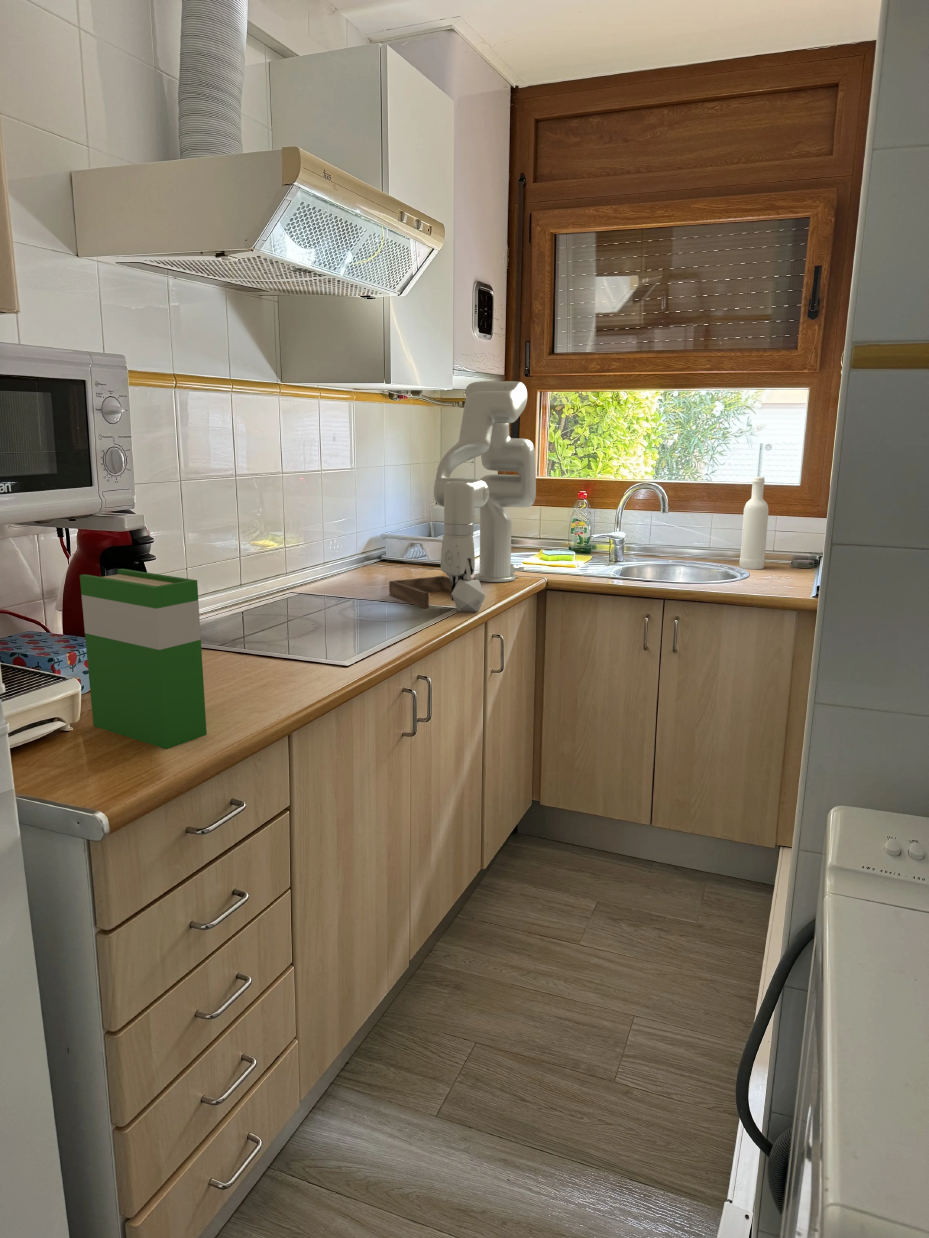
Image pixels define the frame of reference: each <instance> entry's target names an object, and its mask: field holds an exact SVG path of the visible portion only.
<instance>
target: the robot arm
mask: <svg viewBox="0 0 929 1238" xmlns="http://www.w3.org/2000/svg"><path fill="white" fill-rule="evenodd" d="M527 401H528V390H527V387H526V385H525V384H524V383H523V382H521V381H514V380H511V381H505V380H503V381H500V380H499V381H498V380H490V381H489V380H487V381H486V380H485V381H483V380H482V381H474V382H471V383H469V384H468V385H467V386H466V388H465V401H464V406H463V411H462V412H463V413H462V419H461V424H460V430H459V437H458V441H457V442H456V444H454V445H453V446H452V447H451V448H450V449H449V450H448V451H447V452H446V453H445V454H444V455H443V457H442V458H441V460H440V462H439V464H438V465H437V468H436V474H435V478H434V479H435V480H434V486H433V497H434V500H435V503H436V504H437V505H438V506H440V507H443V537H442V542H441V553H440V570H441V572H443V573H444V574H445V575H446V577H449V578H450V583H451V585H453V586H452V592H453V590H454V588H455V586H456V584H457V582H458V581H459V579H461V580H466V581H469V580H472V575H474V577H473V578H474V580H479V582H485V583H487V582H488V583H506V582H513V581H515V580H517V579H516V574H514V573H516V572H523V571H524V570H525V567H524V564H519V565H518V564H517V565H515V564H513V563H512V519H511V517H510V516H509V514H508V512H507V511H506V510H505V508H529V507H532V506H533V505H534V504H535V501H536V496H537V478H536V474H537V473H536V471H537V469H536V463H537V462H536V449H535V446H534V443H533V442H532V440H530V439H527V438H523V437H522V438H521V437H520V438H515V437H511V436H510V424H512V423H515V422H516V421H517V420H518V419H519V417H520V416H521V414H522V413H523V412H524V411H525V408H526V405H527ZM477 457H480V459H481V464H482V466H483V468H484V469H486V470H488V471H492V472H493V471H496V472H516V473H518V474H494V473H493V474H487V475H483V476H482V477H480V479H479V478H465V477H464V478H462V477H461V478H458V477H457V478H455V477H450V476H451V474H452V473H453V471H455V470H456V468H457V467H459V466H460V465H463V463H467V462H468V461H471V460H473V459H475V458H477ZM475 509H479V572H477V573H475V568H476V567H475V566H476V563H475V562H476V559H475V558H476V557H475V554H476V553H475V544H474V518H475V516H474V513H475V512H474V511H475ZM474 573H475V574H474ZM451 601H453V602H454V600H453V597H452V596H451Z"/></svg>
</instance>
